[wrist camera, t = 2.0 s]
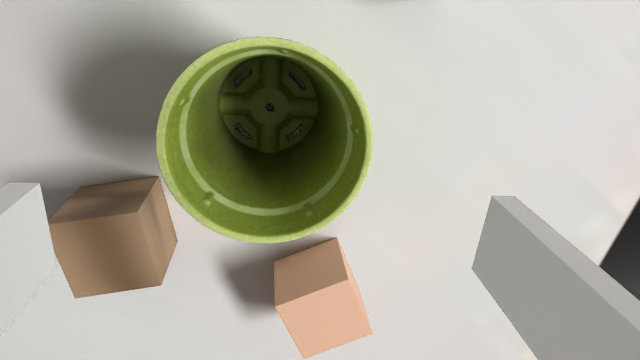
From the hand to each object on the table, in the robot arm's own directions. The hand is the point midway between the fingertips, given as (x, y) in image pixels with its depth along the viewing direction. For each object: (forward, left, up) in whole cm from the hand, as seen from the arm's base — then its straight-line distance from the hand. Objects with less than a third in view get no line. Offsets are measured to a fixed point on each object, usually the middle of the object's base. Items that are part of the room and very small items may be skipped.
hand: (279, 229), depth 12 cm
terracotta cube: (+4, -13, -15) cm, 20 cm away
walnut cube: (-9, -8, -15) cm, 19 cm away
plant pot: (0, 0, -15) cm, 15 cm away
